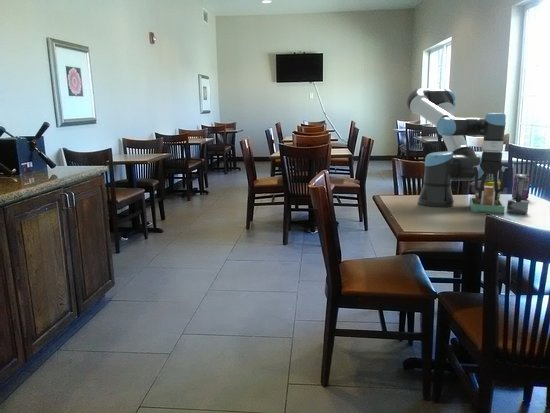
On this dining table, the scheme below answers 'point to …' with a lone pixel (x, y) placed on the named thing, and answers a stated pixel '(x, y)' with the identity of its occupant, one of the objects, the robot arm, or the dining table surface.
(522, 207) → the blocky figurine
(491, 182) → the crayon box
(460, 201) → the dining table surface
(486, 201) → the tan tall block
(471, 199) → the tray
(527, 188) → the beverage can
